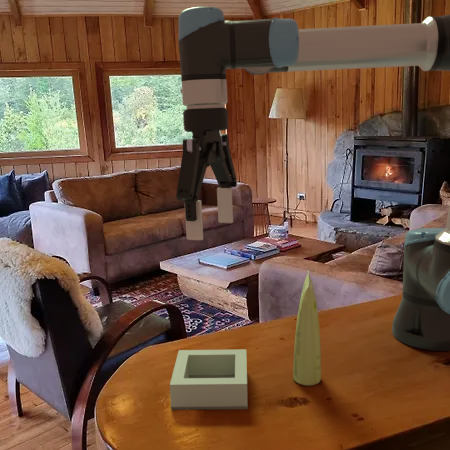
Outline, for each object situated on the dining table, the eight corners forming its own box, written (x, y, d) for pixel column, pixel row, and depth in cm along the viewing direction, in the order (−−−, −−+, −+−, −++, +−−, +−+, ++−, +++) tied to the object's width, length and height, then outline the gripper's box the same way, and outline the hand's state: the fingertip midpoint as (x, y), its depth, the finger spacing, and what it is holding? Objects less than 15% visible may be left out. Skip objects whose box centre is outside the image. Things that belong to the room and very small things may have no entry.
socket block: (246, 371, 97) (246, 349, 96) (247, 409, 85) (247, 383, 84) (179, 372, 98) (178, 350, 97) (171, 409, 86) (169, 384, 85)
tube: (329, 382, 93) (331, 277, 89) (308, 391, 90) (308, 283, 86) (307, 369, 97) (308, 269, 93) (286, 377, 95) (286, 274, 91)
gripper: (213, 107, 100) (219, 215, 105) (147, 109, 78) (158, 246, 82) (250, 105, 98) (254, 217, 102) (193, 106, 75) (201, 249, 80)
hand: (211, 230), depth 92 cm, fingers open, 13 cm apart
